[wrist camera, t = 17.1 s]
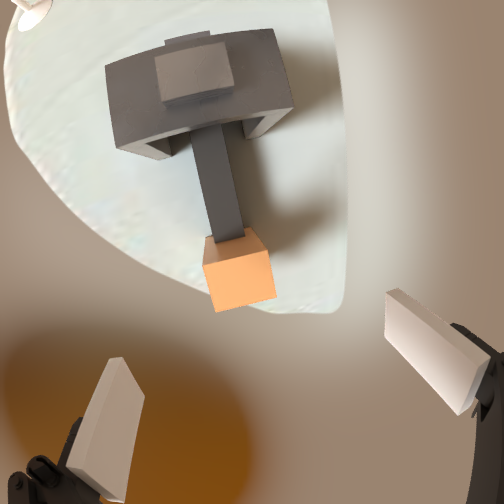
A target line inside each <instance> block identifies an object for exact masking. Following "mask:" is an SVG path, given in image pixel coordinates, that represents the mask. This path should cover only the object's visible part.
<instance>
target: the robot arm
mask: <svg viewBox="0 0 504 504" xmlns="http://www.w3.org/2000/svg"><path fill="white" fill-rule="evenodd" d="M384 336H385V338H386V339H387V340H388V341H389V342H390V343H391V344H392V345H393V346H394V347H395V348H396V349H397V350H398V351H399V352H400V353H401V354H402V356H403V357H404V358H405V359H406V360H407V361H408V362H409V363H410V364H411V365H412V366H413V367H414V368H415V369H416V370H417V371H418V372H419V374H420V375H421V376H422V377H423V378H424V379H425V380H426V381H427V382H428V383H429V384H430V385H431V386H432V388H433V389H434V390H435V391H436V392H437V393H438V394H439V395H440V396H441V397H442V398H443V400H444V401H445V402H446V403H447V404H448V405H449V406H450V407H451V408H452V410H453V411H455V413H456V414H457V415H459V414H461V413H462V412H464V411H465V410H466V409H467V408H469V407H470V406H471V404H472V402H473V400H474V398H475V397H476V398H477V399H478V400H479V401H478V403H477V405H476V407H475V409H474V411H473V413H472V418H473V417H474V416H475V414H476V412H477V426H476V427H477V428H476V442H475V453H474V462H473V469H472V476H471V482H470V487H469V493H468V497H467V502H466V504H504V352H502V353H501V354H500V353H498V352H497V351H496V350H495V349H493V348H492V347H491V346H489V345H488V344H487V343H485V342H484V341H483V340H481V339H480V338H479V337H478V338H477V336H476V335H475V334H473V333H471V332H470V331H469V330H468V329H466V328H465V327H464V326H461V325H458V324H455V323H452V324H450V325H449V324H448V323H446V322H445V321H444V320H442V319H441V318H439V317H438V316H437V315H435V314H434V313H433V312H431V311H430V310H428V309H427V308H426V307H424V306H423V305H421V304H420V303H419V302H417V301H416V300H414V299H413V298H411V297H410V296H409V295H407V294H406V293H404V292H403V291H401V290H400V289H399V288H397V289H394V290H391V291H388V292H386V311H385V335H384ZM144 397H145V396H144V394H143V393H142V391H141V389H140V388H139V386H138V384H137V383H136V381H135V379H134V377H133V376H132V374H131V372H130V370H129V369H128V367H127V365H126V363H125V361H124V359H123V357H118V358H111V359H109V361H108V363H107V365H106V367H105V369H104V372H103V374H102V376H101V378H100V380H99V383H98V385H97V387H96V390H95V392H94V394H93V396H92V399H91V401H90V403H89V406H88V408H87V410H86V413H85V415H84V417H79V418H78V419H77V421H76V422H75V423H74V424H73V425H72V428H71V430H70V433H69V436H68V438H67V440H66V441H67V443H65V445H64V448H63V451H62V453H61V456H60V459H59V461H58V464H57V466H56V465H55V464H54V463H53V462H52V461H51V460H50V459H48V458H47V457H46V456H43V455H38V456H35V457H33V458H32V459H31V460H30V461H29V463H28V465H27V468H26V472H27V474H28V475H29V476H30V477H31V478H32V479H30V478H29V477H28V476H27V475H26V474H24V473H23V472H15V473H13V474H12V475H11V476H10V478H9V480H8V504H103V503H102V502H101V501H100V500H99V498H100V495H101V496H103V497H104V498H106V499H107V500H108V501H114V502H122V503H124V502H125V495H126V489H127V482H128V476H129V470H130V465H131V459H132V454H133V449H134V443H135V439H136V434H137V429H138V424H139V419H140V415H141V411H142V406H143V402H144Z"/></svg>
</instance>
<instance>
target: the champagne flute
mask: <svg viewBox="0 0 504 504" xmlns="http://www.w3.org/2000/svg"><path fill="white" fill-rule="evenodd" d="M12 1H13V2H14V3H15V4H17V5H18V6H19V7H20V8H22V9H23V10H24V11H25V12H24V14H23V15H22V17H21V19H20V21H19V24H18V28H19V30H20V31H26V30H29V29H31V28H32V27H34V26H35V25H36V24H37V23H39V22H40V21H41V20H42V19H43V18H44V16H45V15H46V14H47V13H48V11H49V9H50V7H51V5H52V0H38V1H36V2H35V3H33V4H32V5H30V4H29V3H27V2H26V1H25V0H12Z"/></svg>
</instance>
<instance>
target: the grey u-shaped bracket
mask: <svg viewBox="0 0 504 504" xmlns="http://www.w3.org/2000/svg"><path fill="white" fill-rule="evenodd" d="M105 73H106V83H107V92H108V100H109V108H110V115H111V122H112V128H113V134H114V140H115V145H116V148H117V149H121V150H124V151H128V152H131V153H135V154H138V155H142V156H145V157H149V158H152V159H155V160H162V159H165V158H169V157H172V155H171V150H170V145H169V140H168V136H172V135H175V134H179V133H183V132H187V131H191V130H195V129H199V128H203V127H208V126H212V125H217V124H222V123H227V122H232V121H237V120H241V121H242V126H243V130H244V135H245V139H252V138H257V137H260V136H261V135H262V134H263V133H265V132H266V131H267V130H268V129H269V128H270V127H272V126H273V125H274V124H275V123H276V122H277V121H279V120H280V119H281V118H282V117H283V116H285V115H286V114H287V113H288V112H289V111H291V110H292V109H293V108H294V103H293V99H292V95H291V91H290V87H289V83H288V80H287V76H286V72H285V68H284V65H283V61H282V57H281V54H280V50H279V47H278V44H277V40H276V37H275V34H274V30H273V29H259V30H248V31H239V32H231V33H224V34H217V35H211V36H206V37H200V38H195V39H191V40H186V41H182V42H177V43H173V44H169V45H166V46H162V47H158V48H155V49H151V50H148V51H145V52H142V53H138V54H135V55H132V56H130V57H127V58H124V59H121V60H118V61H116V62H113V63H110V64H108V65H105Z"/></svg>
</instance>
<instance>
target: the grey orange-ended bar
mask: <svg viewBox="0 0 504 504" xmlns="http://www.w3.org/2000/svg"><path fill="white" fill-rule="evenodd" d="M206 36H211V35H210V31H204V32H198V33H193V34H189V35H184V36H180V37H176V38H172V39H168V40H164V41H165V46H166V45H169V44H173V43H177V42H182V41H186V40H191V39H195V38H200V37H206ZM189 134H190V138H191V143H192V148H193V152H194V157H195V162H196V166H197V171H198V175H199V179H200V184H201V188H202V193H203V197H204V201H205V205H206V210H207V214H208V218H209V222H210V226H211V230H212V234H213V236H210V237H206V239H205V247H204V255H203V264H202V267H203V270H204V274H205V277H206V281H207V284H208V288H209V291H210V295H211V298H212V301H213V305H214V308H215V312H219V311H223V310H227V309H231V308H236V307H240V306H244V305H248V304H252V303H256V302H260V301H264V300H268V299H272V298H276V297H277V295H276V290H275V285H274V280H273V275H272V270H271V265H270V260H269V255H268V250H267V249H266V247H265V246H264V245H263V243H262V242H261V240H260V239H259V238H258V236H257V235H256V234H255V232H254V231H253V230H252V228H251V227H247V228H244V227H243V222H242V218H241V213H240V209H239V204H238V200H237V195H236V191H235V186H234V181H233V177H232V172H231V168H230V163H229V158H228V154H227V149H226V145H225V140H224V135H223V131H222V126H221V124H217V125H212V126H208V127H203V128H199V129H195V130H191V131H189Z"/></svg>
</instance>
